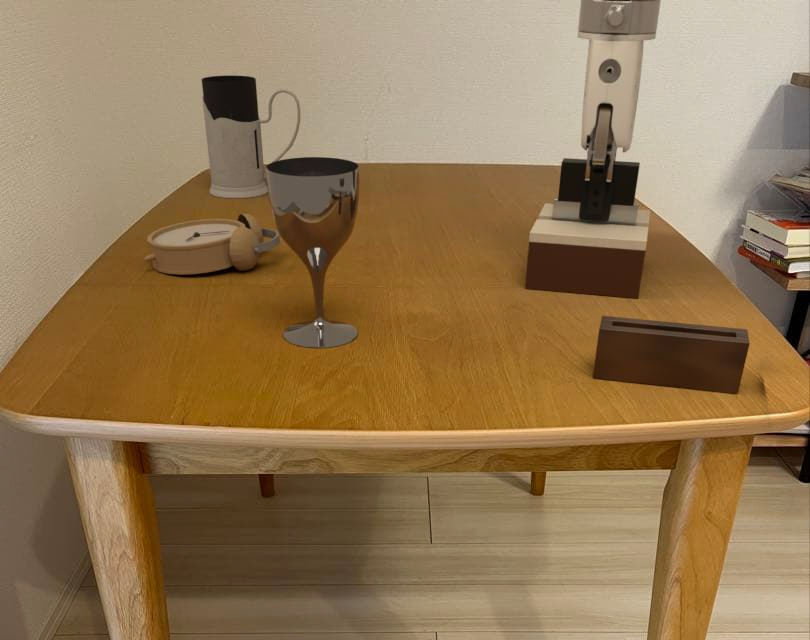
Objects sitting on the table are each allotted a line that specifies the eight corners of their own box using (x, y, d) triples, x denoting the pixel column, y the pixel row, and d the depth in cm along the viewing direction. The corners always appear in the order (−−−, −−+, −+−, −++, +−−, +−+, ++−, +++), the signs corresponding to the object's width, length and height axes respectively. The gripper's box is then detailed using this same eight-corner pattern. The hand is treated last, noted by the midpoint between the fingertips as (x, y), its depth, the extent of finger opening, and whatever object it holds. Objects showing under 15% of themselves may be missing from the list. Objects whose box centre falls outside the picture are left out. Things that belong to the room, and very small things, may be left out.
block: (735, 379, 76) (747, 328, 73) (737, 394, 73) (749, 342, 71) (595, 364, 78) (602, 315, 76) (592, 378, 76) (599, 328, 73)
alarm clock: (153, 224, 105) (276, 199, 104) (166, 264, 108) (286, 241, 107) (135, 251, 96) (270, 225, 95) (150, 295, 98) (281, 269, 98)
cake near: (639, 282, 97) (648, 226, 94) (638, 298, 93) (647, 241, 90) (532, 273, 100) (536, 218, 96) (524, 288, 95) (529, 232, 92)
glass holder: (216, 184, 135) (204, 74, 127) (308, 185, 135) (302, 75, 126) (203, 197, 128) (190, 82, 120) (300, 199, 128) (293, 84, 119)
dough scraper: (628, 271, 99) (644, 162, 92) (627, 277, 97) (644, 166, 91) (548, 265, 101) (559, 157, 94) (546, 270, 99) (556, 161, 93)
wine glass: (275, 349, 81) (261, 176, 72) (282, 319, 87) (270, 156, 79) (361, 349, 81) (358, 176, 72) (362, 318, 87) (359, 157, 79)
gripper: (655, 27, 78) (626, 238, 88) (659, 16, 91) (633, 202, 101) (571, 25, 80) (551, 233, 90) (586, 15, 93) (567, 198, 103)
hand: (594, 215), depth 96 cm, fingers closed on dough scraper, 2 cm apart
